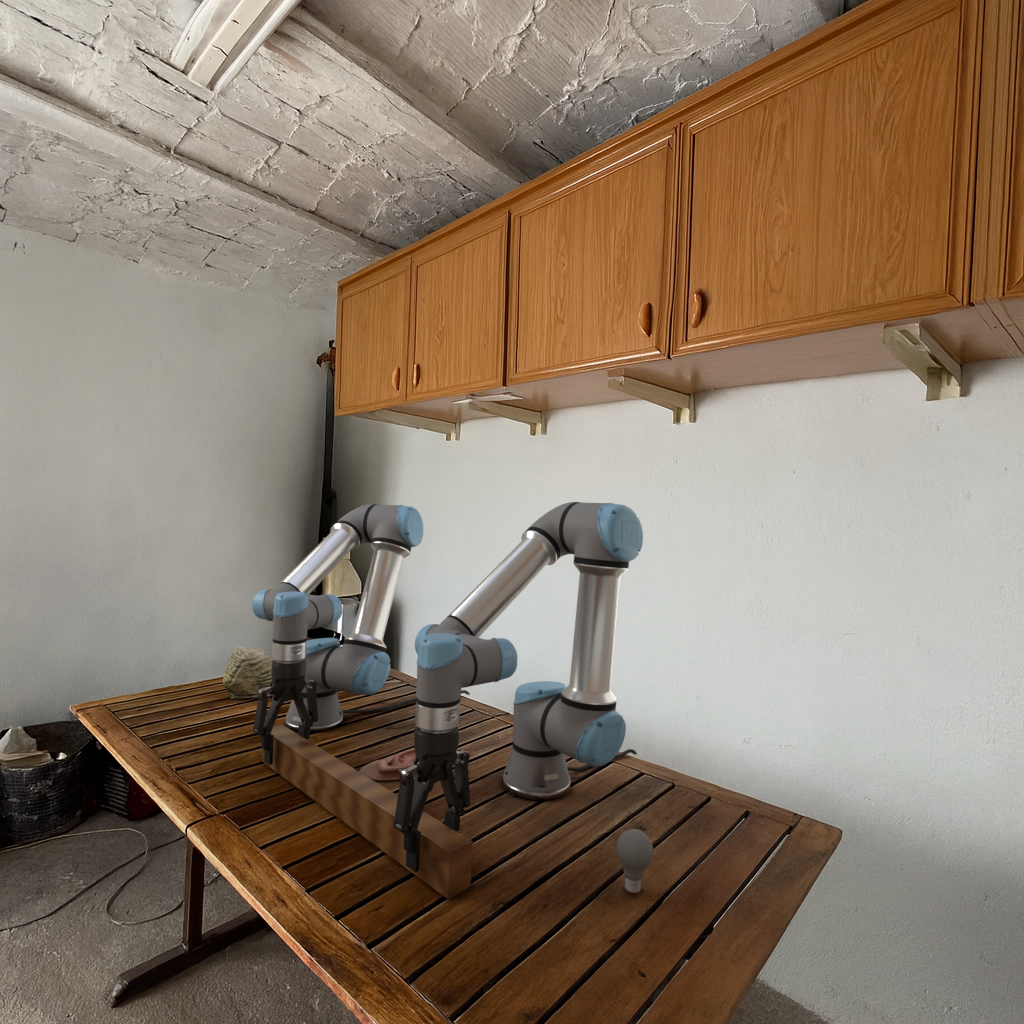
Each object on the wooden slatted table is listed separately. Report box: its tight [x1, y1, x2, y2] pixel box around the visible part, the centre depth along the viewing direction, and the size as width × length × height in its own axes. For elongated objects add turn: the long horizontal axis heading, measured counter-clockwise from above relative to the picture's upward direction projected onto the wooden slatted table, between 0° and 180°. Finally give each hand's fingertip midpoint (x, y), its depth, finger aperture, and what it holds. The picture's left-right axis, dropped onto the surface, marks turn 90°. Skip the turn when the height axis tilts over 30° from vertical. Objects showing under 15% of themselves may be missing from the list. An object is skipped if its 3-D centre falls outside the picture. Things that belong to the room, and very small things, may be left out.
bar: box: [261, 724, 474, 900], centre depth 127 cm, size 69×5×8 cm, turn 45°
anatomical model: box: [358, 748, 417, 782], centre depth 147 cm, size 13×4×12 cm
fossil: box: [222, 646, 274, 699], centre depth 198 cm, size 9×18×15 cm, turn 132°
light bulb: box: [615, 828, 654, 894], centre depth 106 cm, size 6×6×10 cm
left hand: (285, 757), depth 147 cm, fingers open, 7 cm apart
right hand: (431, 859), depth 108 cm, fingers open, 7 cm apart
